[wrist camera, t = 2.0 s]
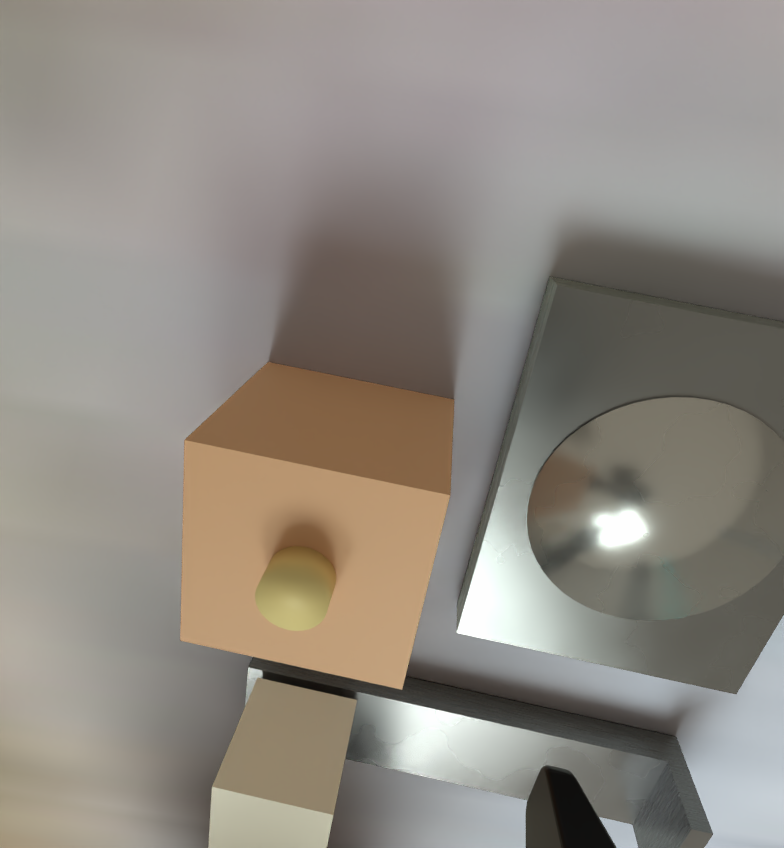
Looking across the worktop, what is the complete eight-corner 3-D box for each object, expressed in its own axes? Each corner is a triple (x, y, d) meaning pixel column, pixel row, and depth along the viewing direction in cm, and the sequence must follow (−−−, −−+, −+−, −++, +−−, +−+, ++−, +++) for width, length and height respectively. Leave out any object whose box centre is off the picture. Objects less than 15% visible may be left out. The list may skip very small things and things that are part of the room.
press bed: (718, 661, 17) (737, 696, 16) (457, 604, 17) (456, 634, 16) (896, 343, 13) (938, 360, 12) (549, 276, 13) (557, 285, 12)
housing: (418, 551, 17) (398, 721, 12) (255, 517, 17) (162, 669, 12) (454, 398, 15) (448, 519, 10) (269, 361, 15) (163, 459, 10)
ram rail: (641, 798, 20) (670, 898, 17) (252, 709, 20) (219, 792, 18) (676, 737, 18) (713, 834, 16) (258, 643, 19) (223, 722, 16)
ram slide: (343, 766, 19) (318, 885, 16) (250, 745, 19) (207, 859, 16) (357, 700, 18) (333, 815, 14) (257, 677, 18) (211, 786, 15)
